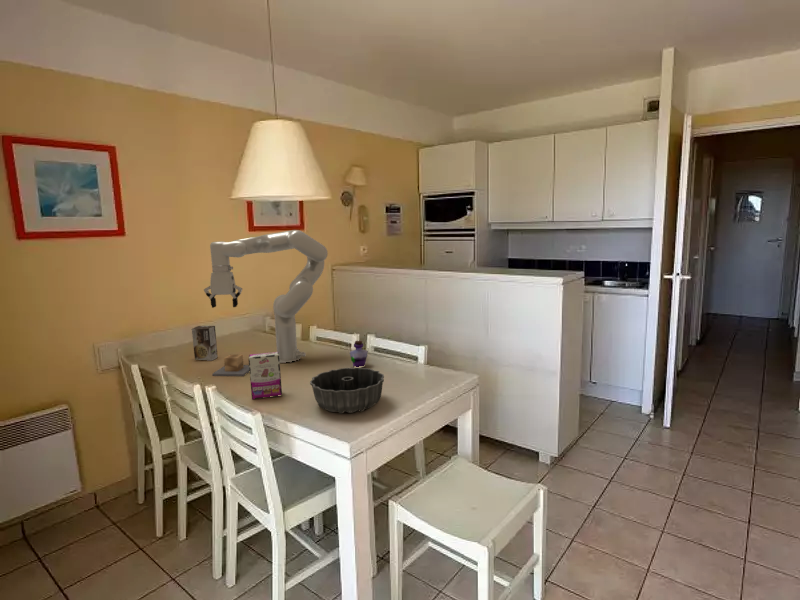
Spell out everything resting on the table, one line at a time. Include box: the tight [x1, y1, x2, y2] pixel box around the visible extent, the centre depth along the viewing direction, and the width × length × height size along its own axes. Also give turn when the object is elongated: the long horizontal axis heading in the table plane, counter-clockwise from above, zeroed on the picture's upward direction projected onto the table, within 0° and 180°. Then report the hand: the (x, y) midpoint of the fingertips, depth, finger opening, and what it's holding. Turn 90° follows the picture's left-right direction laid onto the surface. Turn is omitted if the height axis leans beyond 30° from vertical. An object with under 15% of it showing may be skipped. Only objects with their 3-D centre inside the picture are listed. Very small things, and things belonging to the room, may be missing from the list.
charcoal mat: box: [212, 364, 250, 377], centre depth 210 cm, size 14×13×1 cm
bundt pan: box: [309, 367, 385, 414], centre depth 169 cm, size 26×26×10 cm
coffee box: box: [191, 325, 218, 362], centre depth 230 cm, size 9×6×16 cm
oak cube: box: [223, 353, 245, 371], centre depth 210 cm, size 6×6×6 cm
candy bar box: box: [247, 351, 283, 400], centre depth 178 cm, size 11×5×16 cm, turn 105°
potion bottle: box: [349, 340, 369, 367], centre depth 213 cm, size 9×9×12 cm
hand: (224, 306), depth 213 cm, fingers open, 9 cm apart
